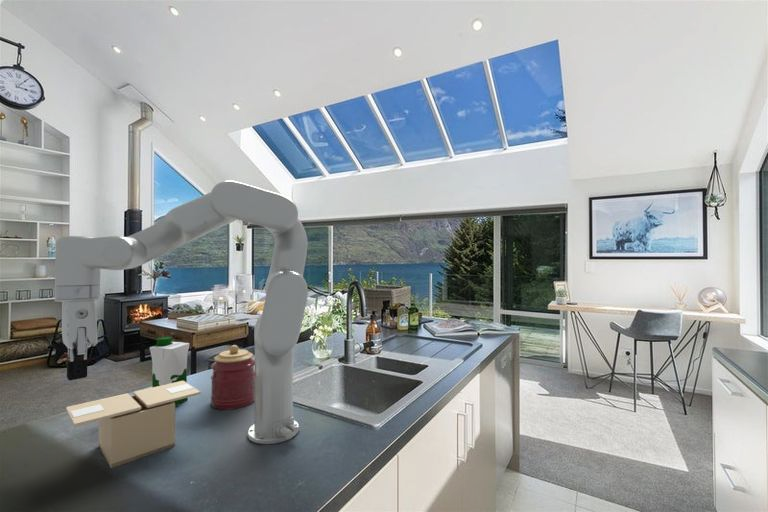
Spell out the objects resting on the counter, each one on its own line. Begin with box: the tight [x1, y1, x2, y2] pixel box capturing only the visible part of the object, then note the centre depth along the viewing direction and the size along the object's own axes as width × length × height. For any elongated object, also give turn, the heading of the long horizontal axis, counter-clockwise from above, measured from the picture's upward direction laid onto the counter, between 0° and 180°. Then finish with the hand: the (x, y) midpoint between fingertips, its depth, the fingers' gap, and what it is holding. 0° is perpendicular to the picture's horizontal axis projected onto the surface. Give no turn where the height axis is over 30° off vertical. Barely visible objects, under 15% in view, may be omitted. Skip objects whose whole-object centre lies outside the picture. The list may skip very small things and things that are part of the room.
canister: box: [210, 344, 255, 410], centre depth 114 cm, size 13×13×18 cm
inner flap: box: [132, 381, 202, 408], centre depth 92 cm, size 12×12×1 cm
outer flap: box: [65, 392, 141, 428], centre depth 82 cm, size 12×12×1 cm
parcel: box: [98, 394, 176, 469], centre depth 87 cm, size 13×12×10 cm
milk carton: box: [149, 336, 190, 407], centre depth 113 cm, size 9×9×20 cm
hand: (77, 377), depth 79 cm, fingers closed
